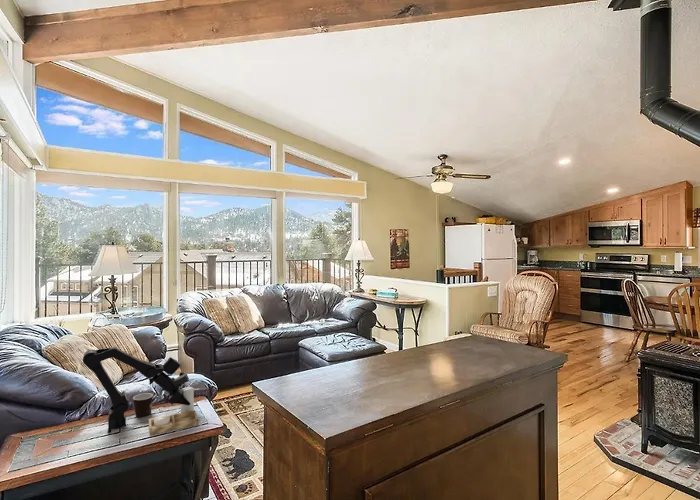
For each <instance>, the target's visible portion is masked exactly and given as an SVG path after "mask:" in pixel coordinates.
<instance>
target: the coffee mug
mask: <svg viewBox="0 0 700 500" xmlns="http://www.w3.org/2000/svg"><path fill="white" fill-rule="evenodd" d="M132 399H133V401H132V402H133V407H134V414H135V417H136V418H139V419H140V418H145V417H148V416H150V415H151V414H152V408H153V399H154V395H153V393H150V392H146V393H139V394H136V395H134V396H133V397H132Z"/></svg>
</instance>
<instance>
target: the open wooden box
mask: <svg viewBox="0 0 700 500" xmlns="http://www.w3.org/2000/svg"><path fill="white" fill-rule="evenodd" d="M168 416H170V424H169V425H164V426H159V427H154V419H155V418H156V417H154V418H153V417H152V418H149V419H148V430H149V433H148V434H149V435H150V436H151V435H156V434H160V433H167V432H170V431H175V430H179V429H183V428H184V429H185V428H189V427H193V426H198V425H199V417H198V415H197V412H196V410H195V409H194V410H193V411H188V412H183V413H181V412H179V413H173V414H169V415H168Z"/></svg>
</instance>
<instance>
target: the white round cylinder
mask: <svg viewBox="0 0 700 500" xmlns="http://www.w3.org/2000/svg"><path fill="white" fill-rule="evenodd" d="M154 418H155V419H154V427H159V426H164V425H169V424H170V416H168V415H167V414H166V415H165V414H164V415H159V416H156V417H154Z"/></svg>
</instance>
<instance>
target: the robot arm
mask: <svg viewBox="0 0 700 500" xmlns="http://www.w3.org/2000/svg"><path fill="white" fill-rule="evenodd" d="M82 357H83V358H82V363H83V364H84V365H85V366H86V367H87V368H88V370H90V371H92V373H94V375H95V376H96V378H97V379H98V381H99V382H100V384H101V385H102V387H103V388H104V390H105V391H106V393H107V395H108V397H109V398H110V401H111V404H112V405H111V406H110V408H108V417H107V434H110V433H112V430H117V429H120V428H123V427H126V426H127V416H126V415H125V413H126V412H127V411H128V410H129V405H130V404H129V403H130V398H129V395H128V396H127V395H126V391H124V390H123V391H122V392H121V391H120V390H119V389H118V387H117V386H116V384H115V383H114V382H113V380H112V378H111V376H110V375H109V373H108V372H107V369H105V367H104V366H103V363H102V362H104V361H105V360H108V359H111V358H113V359H115V360H118V361H119V362H121V363H123V364H125V365H127V366H130V367H131V368H134V369H135V370H136V371H138V372H139V373H140V374H141V375H142V376H144V377H145V378H147V379H148V382H149V385H150V386H151V385H152V384H153V383H154V384H156V385H157V386H158V387H160V388H161V391H163V392H166V393H168V396H169V399H168V403H169V404H170V405H174V404H177V405H181V404H183V405H190V402H189V401H188V400H187V399H186V398H185V397H184V392H182V391H181V389H182V388H186V384H185V383H188V382H189V380H190V378H189V376H188V373H187V372H184V371H181V372H179V376H177V377H176V378H175V377H171V376H170V375H174V374H175V373H176V372H177V371H178V370H179V369H180V368H181V366H182V364H181V363H180V362H179V361H178V360H177V359H175V358H173V357H172V356H170V357H168V359H167V360H166V361H165V362H164V363H163V364H161V363H160V364H158V363H157V364H156V363H154V362H150V361H147V360H141V359H140V358H137V357H135V356H133V355H131V354H130V353H127V352H125V351H123V350H121V349H119V348H118V347H116V346H111V347H106V348H105V347H104V348H99V349H92V348H91V349H88V350H87V351H85V352H84V354H83V356H82Z"/></svg>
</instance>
